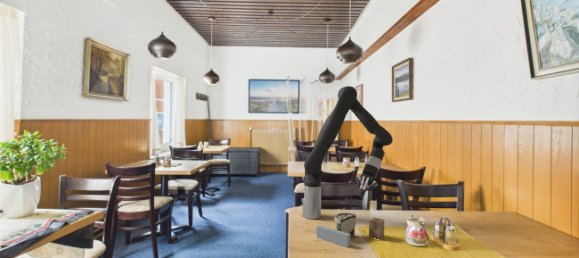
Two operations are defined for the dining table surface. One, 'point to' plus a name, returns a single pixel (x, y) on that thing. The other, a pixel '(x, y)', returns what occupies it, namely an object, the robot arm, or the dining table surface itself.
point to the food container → (346, 223)
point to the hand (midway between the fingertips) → (360, 196)
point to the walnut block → (376, 228)
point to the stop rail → (333, 236)
